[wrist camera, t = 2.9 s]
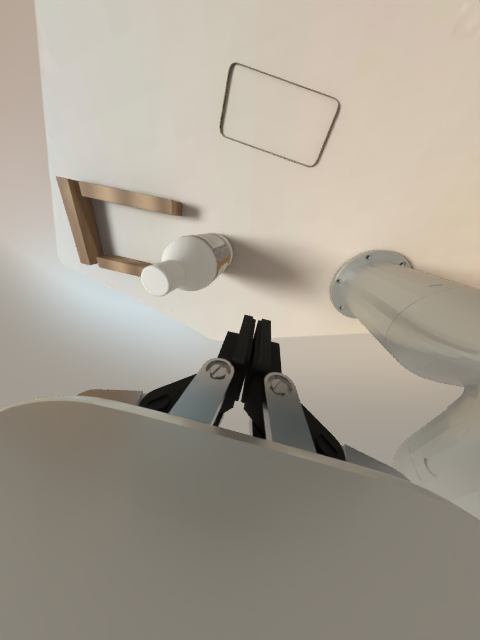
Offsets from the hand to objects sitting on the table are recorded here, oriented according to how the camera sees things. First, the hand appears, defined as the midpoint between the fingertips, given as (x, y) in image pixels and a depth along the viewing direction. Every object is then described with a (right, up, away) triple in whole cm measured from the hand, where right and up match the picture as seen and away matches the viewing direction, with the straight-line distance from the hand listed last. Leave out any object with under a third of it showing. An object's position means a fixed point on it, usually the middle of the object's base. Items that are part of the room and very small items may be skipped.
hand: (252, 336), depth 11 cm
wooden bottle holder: (-22, +18, +23) cm, 37 cm away
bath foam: (-5, +14, +22) cm, 27 cm away
